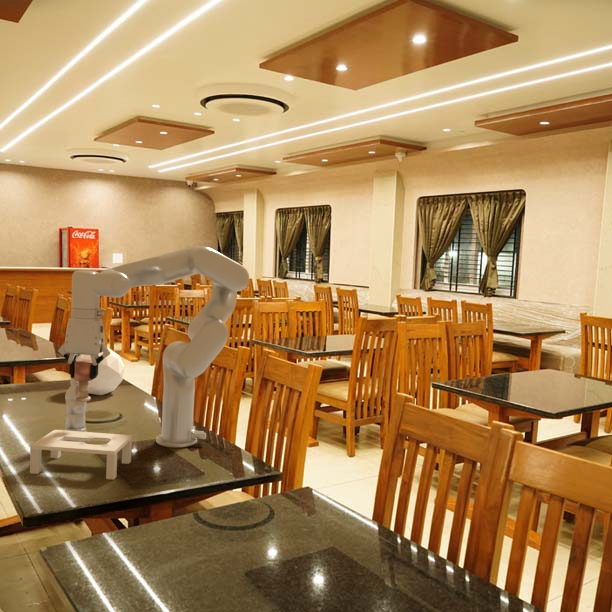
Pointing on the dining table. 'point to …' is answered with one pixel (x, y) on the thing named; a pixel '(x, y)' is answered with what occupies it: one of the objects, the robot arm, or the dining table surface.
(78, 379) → the peg
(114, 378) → the ball
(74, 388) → the plastic bottle
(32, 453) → the keyhole plate
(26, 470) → the dining table surface
